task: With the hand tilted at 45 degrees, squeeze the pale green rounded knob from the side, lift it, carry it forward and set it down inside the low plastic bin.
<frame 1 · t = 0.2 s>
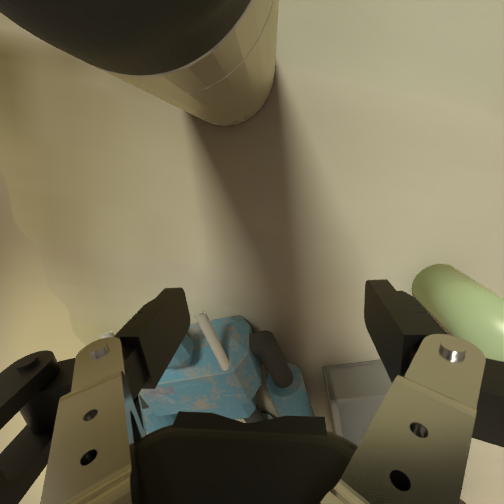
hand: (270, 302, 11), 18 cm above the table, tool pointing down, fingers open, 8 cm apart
pale green rounded knob: (436, 285, 29), on the table
bin: (382, 407, 37), on the table
toy: (221, 367, 37), on the table
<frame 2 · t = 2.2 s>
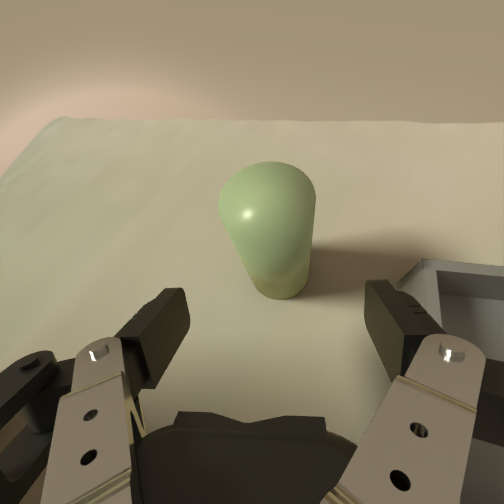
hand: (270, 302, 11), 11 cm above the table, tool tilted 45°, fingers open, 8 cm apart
pale green rounded knob: (279, 271, 24), on the table
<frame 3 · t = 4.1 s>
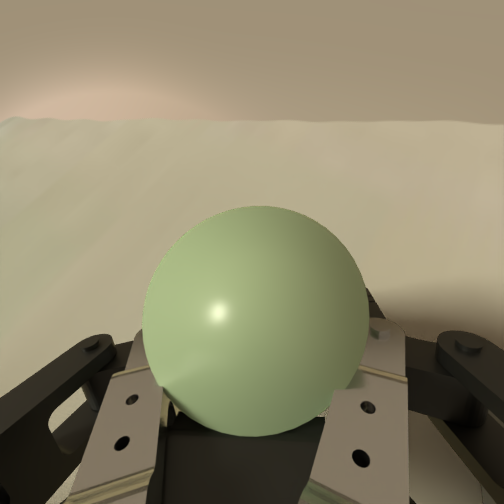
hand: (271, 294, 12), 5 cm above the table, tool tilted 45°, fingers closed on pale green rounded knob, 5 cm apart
pale green rounded knob: (280, 346, 16), on the table, touching gripper
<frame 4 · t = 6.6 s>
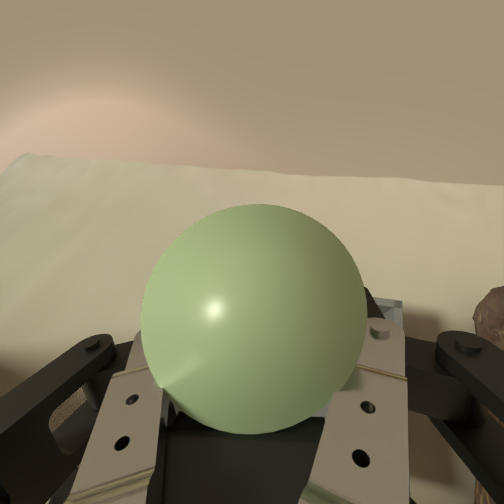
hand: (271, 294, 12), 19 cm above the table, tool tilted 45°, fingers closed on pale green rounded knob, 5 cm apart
pale green rounded knob: (280, 345, 16), point 14 cm above the table, touching gripper
bin: (298, 365, 28), on the table
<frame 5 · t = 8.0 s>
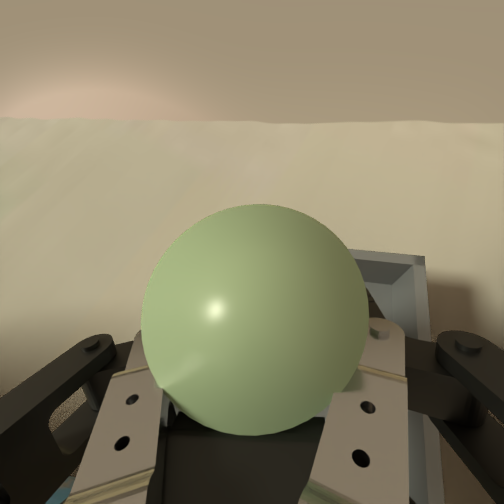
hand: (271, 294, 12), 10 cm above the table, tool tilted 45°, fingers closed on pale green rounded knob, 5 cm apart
pale green rounded knob: (280, 345, 16), point 6 cm above the table, touching gripper
bin: (282, 351, 21), on the table
when the fingers open (7 cm above the table, at t = 8.9 s): pale green rounded knob drops 2 cm, resting on bin.
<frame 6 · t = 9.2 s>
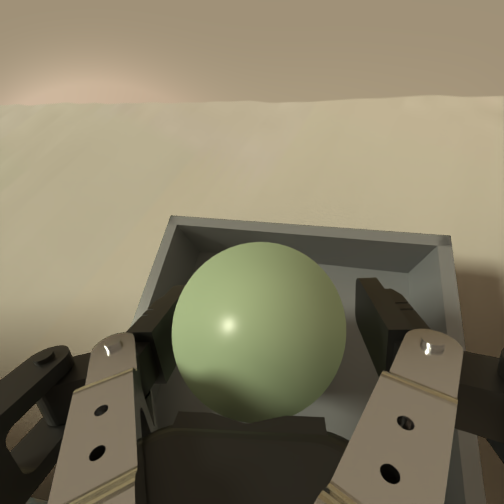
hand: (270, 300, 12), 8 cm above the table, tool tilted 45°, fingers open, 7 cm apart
pale green rounded knob: (280, 350, 17), point 1 cm above the table, touching bin
bin: (283, 349, 18), on the table
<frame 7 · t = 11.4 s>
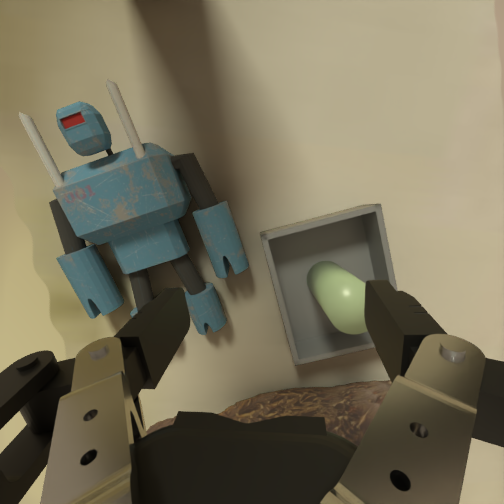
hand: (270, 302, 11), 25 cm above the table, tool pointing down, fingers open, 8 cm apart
pale green rounded knob: (325, 279, 36), point 1 cm above the table, touching bin
bin: (325, 278, 37), on the table
toy: (157, 232, 37), on the table
bird model: (287, 407, 40), on the table
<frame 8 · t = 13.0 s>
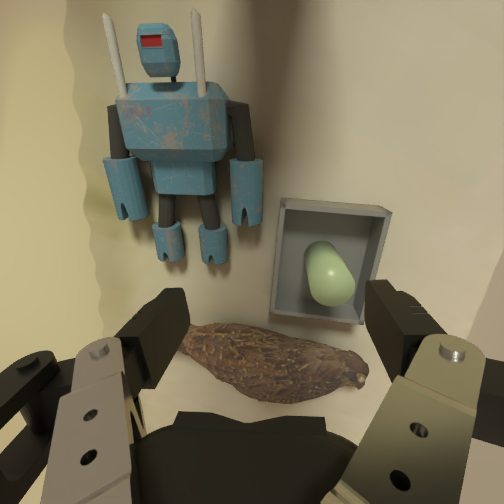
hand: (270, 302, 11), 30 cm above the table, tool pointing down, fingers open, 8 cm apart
pale green rounded knob: (320, 256, 41), point 1 cm above the table, touching bin
bin: (320, 255, 42), on the table
toy: (192, 164, 40), on the table
bird model: (252, 339, 50), on the table
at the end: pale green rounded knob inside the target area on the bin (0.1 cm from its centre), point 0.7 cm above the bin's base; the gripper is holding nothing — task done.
